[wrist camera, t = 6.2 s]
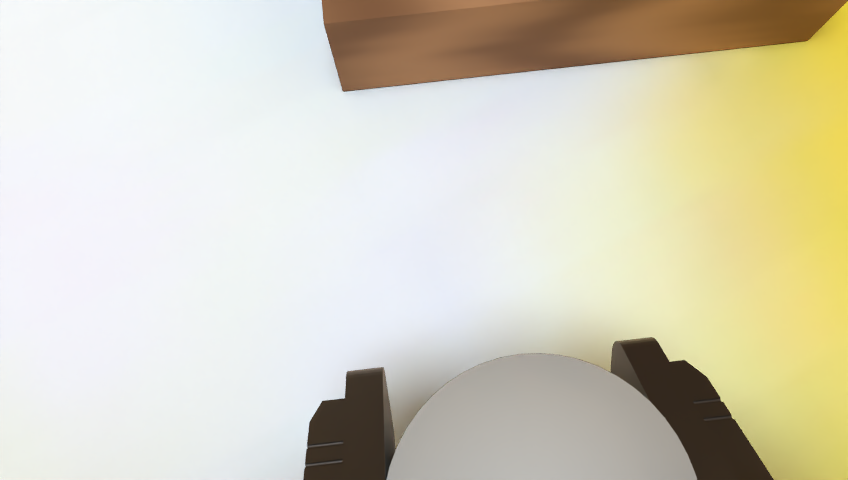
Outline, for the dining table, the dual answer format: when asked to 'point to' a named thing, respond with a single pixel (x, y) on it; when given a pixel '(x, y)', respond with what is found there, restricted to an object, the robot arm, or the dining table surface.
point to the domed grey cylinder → (539, 427)
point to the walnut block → (545, 33)
